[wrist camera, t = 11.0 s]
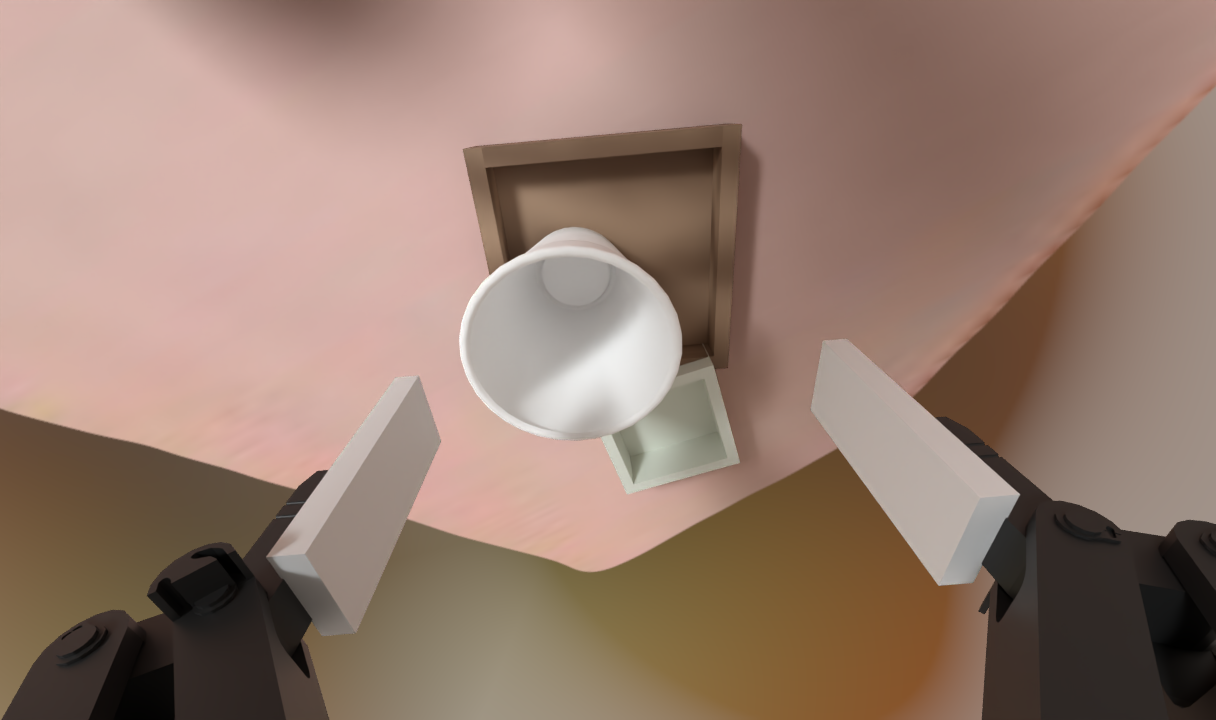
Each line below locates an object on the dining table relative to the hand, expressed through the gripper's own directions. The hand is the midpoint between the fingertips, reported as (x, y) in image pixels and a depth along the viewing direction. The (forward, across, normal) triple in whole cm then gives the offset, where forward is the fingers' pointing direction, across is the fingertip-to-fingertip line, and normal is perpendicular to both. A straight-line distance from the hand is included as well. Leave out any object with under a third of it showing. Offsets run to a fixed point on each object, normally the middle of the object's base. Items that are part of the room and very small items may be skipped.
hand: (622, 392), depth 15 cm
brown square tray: (+17, 0, -1) cm, 17 cm away
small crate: (+17, +3, -13) cm, 21 cm away
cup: (+16, -2, -1) cm, 16 cm away
